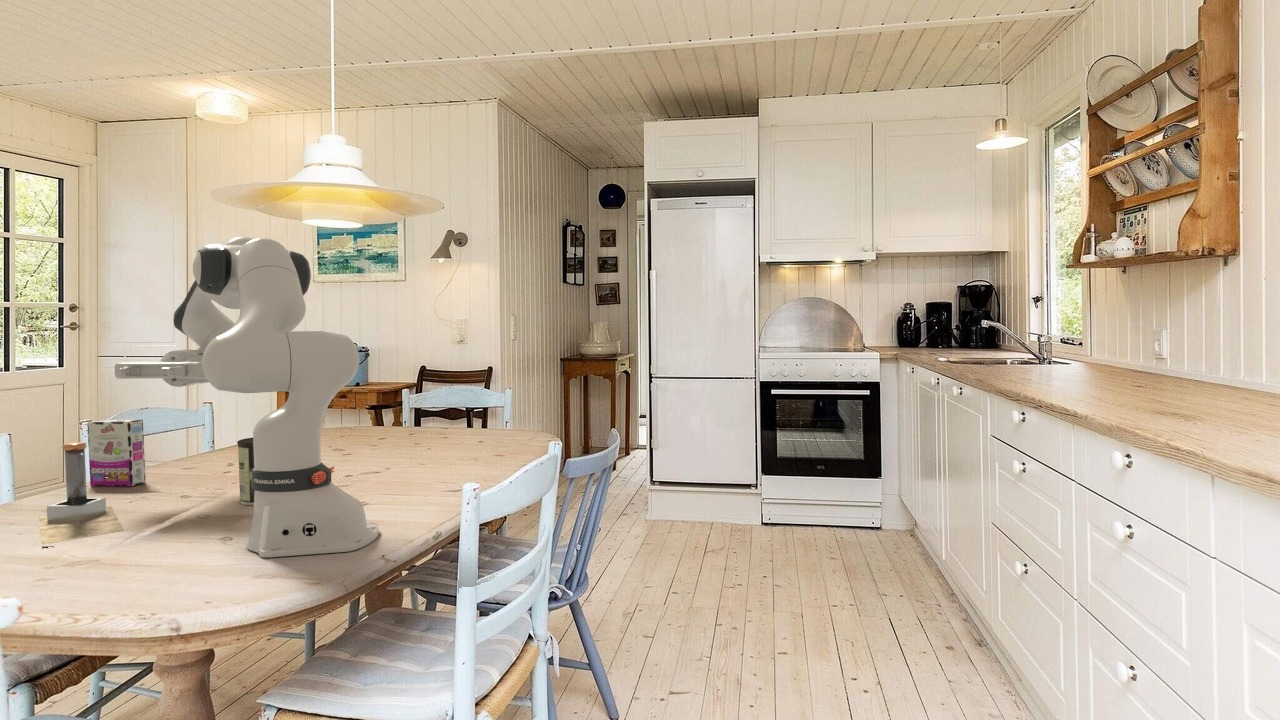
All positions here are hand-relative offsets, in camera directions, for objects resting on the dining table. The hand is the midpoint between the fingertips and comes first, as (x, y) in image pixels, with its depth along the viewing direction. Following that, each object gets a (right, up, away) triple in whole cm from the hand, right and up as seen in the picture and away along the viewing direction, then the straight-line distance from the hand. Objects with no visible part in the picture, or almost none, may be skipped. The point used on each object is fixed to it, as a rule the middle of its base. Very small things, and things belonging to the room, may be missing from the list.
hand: (143, 372), depth 158 cm
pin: (-6, -30, -11) cm, 32 cm away
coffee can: (+24, -30, +5) cm, 39 cm away
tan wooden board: (-1, -31, -17) cm, 35 cm away
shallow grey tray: (-6, -30, -11) cm, 32 cm away
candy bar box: (-22, -29, +22) cm, 42 cm away
